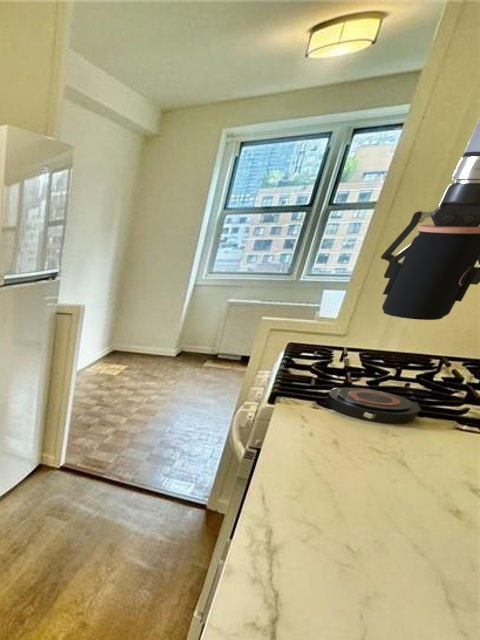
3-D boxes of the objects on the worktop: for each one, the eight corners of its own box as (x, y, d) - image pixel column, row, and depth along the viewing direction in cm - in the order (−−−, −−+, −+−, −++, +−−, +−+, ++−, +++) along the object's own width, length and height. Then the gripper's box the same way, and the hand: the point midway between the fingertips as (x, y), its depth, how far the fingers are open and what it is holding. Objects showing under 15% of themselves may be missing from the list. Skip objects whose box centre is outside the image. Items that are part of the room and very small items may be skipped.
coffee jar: (453, 322, 101) (504, 228, 92) (384, 317, 106) (426, 228, 97) (438, 312, 109) (483, 224, 100) (375, 307, 114) (412, 224, 105)
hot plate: (433, 419, 110) (441, 406, 109) (378, 427, 107) (385, 415, 106) (358, 393, 124) (364, 382, 122) (308, 401, 121) (313, 389, 119)
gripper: (394, 183, 100) (348, 293, 111) (574, 180, 85) (501, 307, 96) (398, 183, 105) (353, 288, 115) (570, 179, 89) (500, 300, 100)
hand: (420, 296), depth 105 cm, fingers closed on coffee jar, 11 cm apart
